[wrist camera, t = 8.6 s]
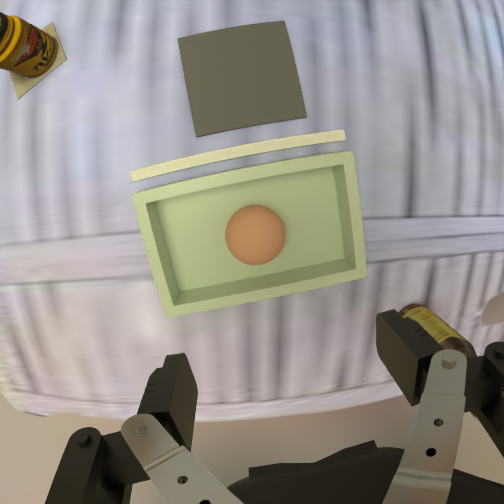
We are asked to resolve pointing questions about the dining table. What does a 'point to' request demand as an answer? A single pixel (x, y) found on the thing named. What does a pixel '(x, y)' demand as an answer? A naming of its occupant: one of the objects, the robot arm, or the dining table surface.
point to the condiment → (28, 51)
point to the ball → (255, 235)
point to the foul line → (237, 153)
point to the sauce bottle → (439, 331)
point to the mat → (241, 77)
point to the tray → (241, 195)
